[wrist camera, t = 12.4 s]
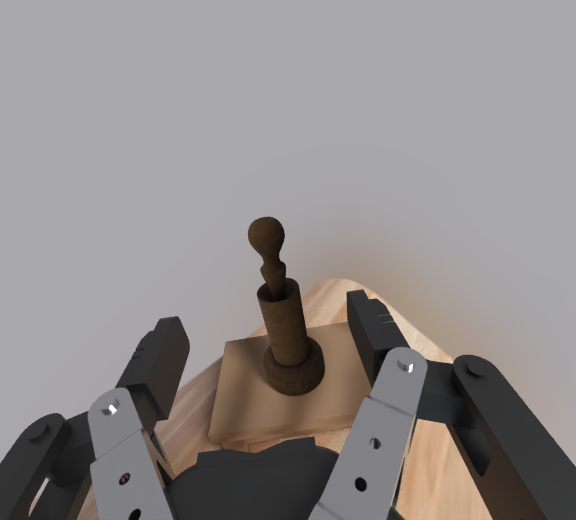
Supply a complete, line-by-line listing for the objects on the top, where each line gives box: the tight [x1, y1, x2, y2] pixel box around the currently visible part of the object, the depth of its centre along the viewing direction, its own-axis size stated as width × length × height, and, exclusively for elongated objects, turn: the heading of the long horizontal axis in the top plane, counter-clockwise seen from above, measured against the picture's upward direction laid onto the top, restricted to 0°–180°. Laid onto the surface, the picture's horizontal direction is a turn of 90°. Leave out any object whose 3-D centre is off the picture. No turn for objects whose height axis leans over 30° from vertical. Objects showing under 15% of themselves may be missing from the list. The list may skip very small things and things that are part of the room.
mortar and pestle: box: [248, 217, 325, 396], centre depth 26 cm, size 7×6×18 cm
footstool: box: [208, 322, 372, 452], centre depth 32 cm, size 18×12×6 cm, turn 94°
